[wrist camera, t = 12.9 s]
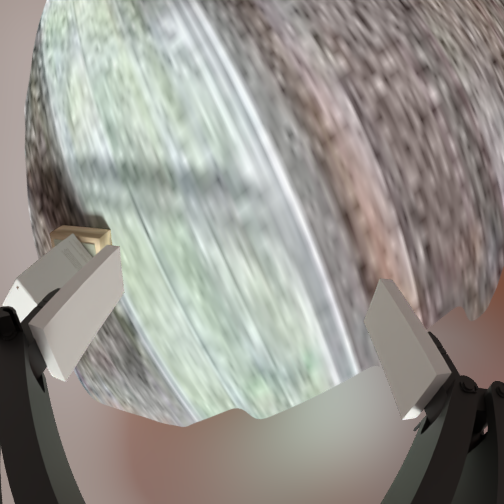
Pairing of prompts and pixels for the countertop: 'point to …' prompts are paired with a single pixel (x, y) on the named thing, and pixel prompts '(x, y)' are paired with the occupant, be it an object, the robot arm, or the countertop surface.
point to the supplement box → (47, 275)
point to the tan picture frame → (83, 237)
